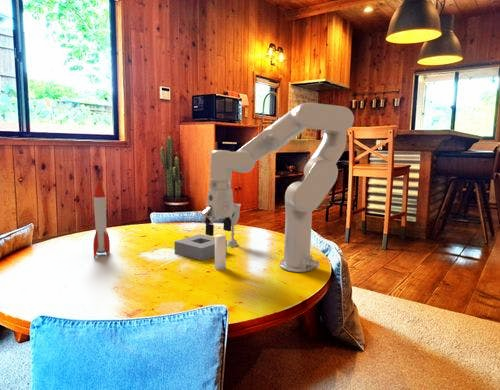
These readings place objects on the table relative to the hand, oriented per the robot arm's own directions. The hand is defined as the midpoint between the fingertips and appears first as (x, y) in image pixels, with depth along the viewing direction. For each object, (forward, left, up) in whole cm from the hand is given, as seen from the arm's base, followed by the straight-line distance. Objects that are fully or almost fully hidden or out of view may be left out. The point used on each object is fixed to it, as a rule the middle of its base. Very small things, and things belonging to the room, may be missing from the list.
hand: (218, 232), depth 133 cm
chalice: (+14, -26, -13) cm, 33 cm away
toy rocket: (+45, +18, -13) cm, 51 cm away
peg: (-1, 0, -13) cm, 13 cm away
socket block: (+17, -9, -13) cm, 24 cm away
